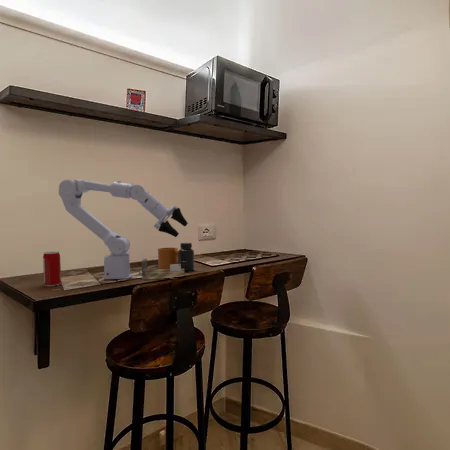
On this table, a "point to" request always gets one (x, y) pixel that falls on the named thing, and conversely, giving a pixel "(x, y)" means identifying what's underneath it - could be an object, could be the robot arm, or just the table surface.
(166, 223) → the robot arm
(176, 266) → the carriage
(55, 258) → the soda can
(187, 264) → the supplement bottle
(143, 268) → the gauge bed
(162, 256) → the mug
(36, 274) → the table surface
